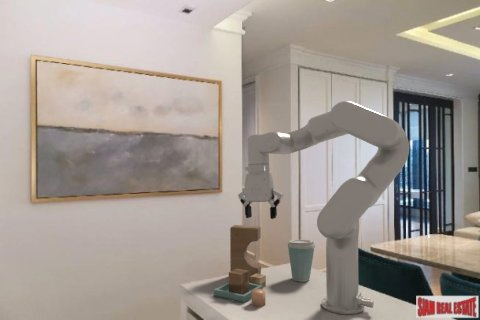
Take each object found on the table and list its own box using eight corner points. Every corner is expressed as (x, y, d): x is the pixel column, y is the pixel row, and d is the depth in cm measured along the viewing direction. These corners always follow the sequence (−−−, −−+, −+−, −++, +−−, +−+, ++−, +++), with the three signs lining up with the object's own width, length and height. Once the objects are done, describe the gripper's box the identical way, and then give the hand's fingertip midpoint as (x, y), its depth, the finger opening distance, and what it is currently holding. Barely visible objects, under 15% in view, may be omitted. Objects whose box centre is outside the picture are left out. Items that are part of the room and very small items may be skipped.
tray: (262, 292, 120) (262, 285, 120) (244, 303, 110) (244, 296, 110) (233, 285, 126) (233, 279, 126) (213, 296, 116) (213, 289, 116)
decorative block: (261, 277, 136) (260, 226, 137) (257, 281, 131) (257, 228, 131) (234, 274, 140) (234, 224, 140) (229, 278, 134) (229, 227, 135)
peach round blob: (267, 303, 110) (267, 290, 110) (261, 308, 106) (261, 295, 106) (255, 300, 112) (255, 288, 112) (248, 305, 109) (248, 292, 109)
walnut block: (241, 295, 115) (241, 274, 115) (228, 293, 117) (228, 272, 117) (249, 291, 119) (248, 270, 119) (236, 288, 122) (236, 268, 122)
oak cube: (265, 286, 126) (265, 275, 126) (260, 289, 123) (260, 278, 123) (256, 284, 128) (256, 273, 128) (250, 287, 125) (250, 276, 125)
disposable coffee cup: (281, 278, 134) (281, 239, 135) (300, 273, 141) (300, 236, 141) (302, 285, 126) (301, 244, 126) (321, 279, 133) (321, 240, 133)
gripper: (232, 170, 124) (234, 218, 123) (276, 168, 115) (279, 220, 115) (243, 170, 131) (244, 216, 130) (285, 168, 122) (287, 217, 121)
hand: (260, 217), depth 122 cm, fingers open, 9 cm apart
